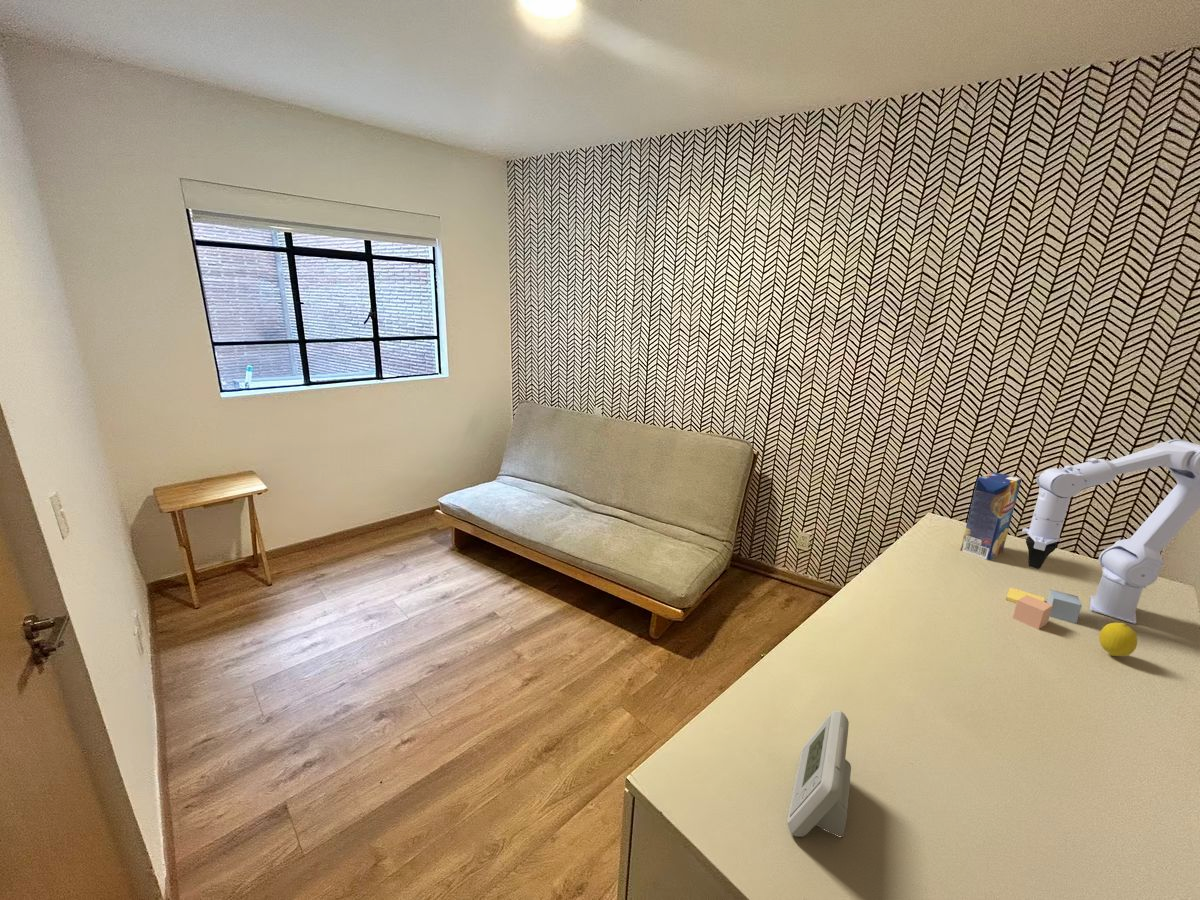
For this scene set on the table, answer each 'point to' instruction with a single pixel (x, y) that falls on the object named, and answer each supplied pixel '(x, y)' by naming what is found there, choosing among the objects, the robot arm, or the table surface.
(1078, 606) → the slate block
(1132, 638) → the lemon
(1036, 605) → the terracotta block
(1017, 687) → the table surface
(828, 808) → the digital clock
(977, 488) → the juice carton
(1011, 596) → the tile
